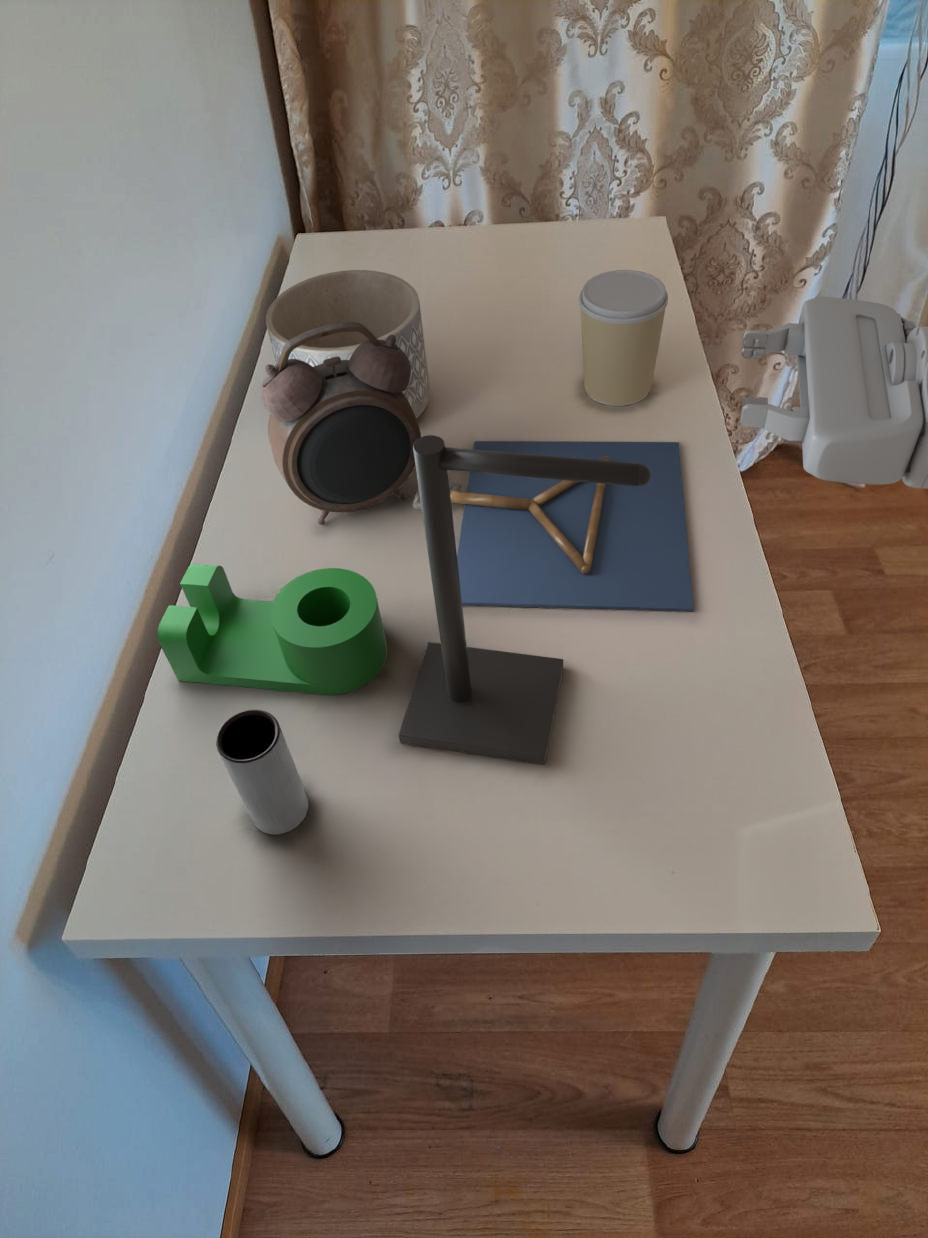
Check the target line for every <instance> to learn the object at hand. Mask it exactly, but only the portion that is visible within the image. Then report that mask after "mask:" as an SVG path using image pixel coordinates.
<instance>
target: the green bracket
mask: <svg viewBox="0 0 928 1238" xmlns="http://www.w3.org/2000/svg"><path fill="white" fill-rule="evenodd" d="M179 585H180V587H181V589H182V591H183V593H184V596H185V598H186V601H187V602H188V605H189V606H182V605H171V604H169V605H167V608H166V610H165V612H164V614H163V616H162V618H161V620H160V622H159V624H158V627H157V641H158V643H159V645H160V647H161V650H162V652H163V654H164V656H165V657H166V659H167V661H168V663H169V665H170V668H171V669H172V671H173V674H174V676H175V677H176V679H177V681H178V682H179V681H180V682H188V683H189V682H190V683H199V684H207V685H208V684H209V685H218V686H219V685H220V686H229V687H230V686H231V687H239V688H240V687H241V688H251V689H260V690H261V689H263V690H272V691H280V692H281V691H282V692H292V693H293V692H294V693H301V694H302V693H304V694H313V695H323V696H336V695H337V696H338V695H342V694H347V693H350V692H353V691H356V690H358V689H360V688H362V687H365V685H366V684H369V683H370V682H371V681H372V680H374V678H375V677H376V676H378V674H379V673H380V672H381V670H382V669H383V667H384V665H385V662H386V660H387V656H388V644H387V640H386V635H385V630H384V625H383V620H382V616H381V611H380V607H379V602H378V597H377V592H376V590H375V588H374V586H373V585H372V583H371V582H370V581H369V579H367V578H366V577H365V576H363V575H361V574H360V573H359V572H356V571H353V570H350V569H346V568H339V567H326V568H320V569H315V570H311V571H308V572H305V573H303V574H301V575H298V576H297V577H295V578H293V579H292V580H291V581H289V582H288V583H286V584H285V585H284V586H283V587H282V588H281V589H280V591H278V593H277V594H276V596H275V597H274V599H273V601H267V600H256V599H255V600H254V599H244V598H240V597H238V596H237V595H236V594H235V593H234V591H233V589H232V586H231V584H230V581H229V578H228V577H227V573H226V571H225V569H224V567H223V566H222V565H216V564H215V565H214V564H203V563H202V564H201V563H191V564H190V565H189V566H188V567H187V569H186V571H185V573H184V575H183V577H182V578H181V581H180V583H179Z"/></svg>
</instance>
